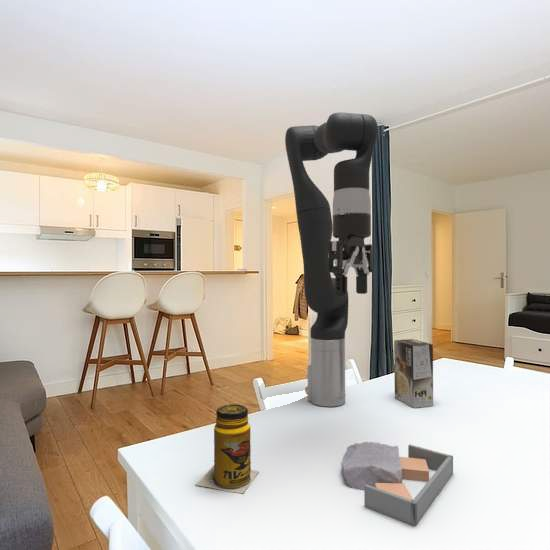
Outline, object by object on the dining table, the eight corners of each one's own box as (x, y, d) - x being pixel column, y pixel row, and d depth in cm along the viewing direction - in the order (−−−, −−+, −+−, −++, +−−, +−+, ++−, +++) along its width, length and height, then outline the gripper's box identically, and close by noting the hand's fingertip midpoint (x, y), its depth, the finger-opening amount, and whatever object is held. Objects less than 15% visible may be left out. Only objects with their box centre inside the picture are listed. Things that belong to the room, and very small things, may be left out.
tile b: (400, 480, 66) (400, 468, 66) (398, 467, 71) (398, 456, 71) (429, 483, 65) (428, 471, 65) (425, 470, 70) (425, 459, 70)
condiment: (243, 494, 62) (243, 417, 62) (194, 486, 64) (194, 412, 64) (259, 472, 69) (258, 403, 69) (214, 465, 71) (214, 398, 71)
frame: (364, 506, 58) (364, 485, 58) (409, 460, 73) (409, 444, 73) (415, 526, 54) (415, 504, 54) (453, 473, 68) (452, 455, 68)
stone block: (344, 501, 63) (408, 495, 61) (338, 470, 64) (401, 463, 62) (347, 468, 75) (401, 462, 73) (342, 442, 75) (395, 436, 73)
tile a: (374, 495, 62) (374, 482, 62) (403, 496, 62) (403, 483, 62) (381, 512, 57) (381, 499, 57) (412, 513, 57) (412, 499, 57)
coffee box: (434, 406, 103) (434, 344, 103) (413, 408, 101) (413, 345, 101) (413, 395, 112) (412, 338, 111) (393, 397, 110) (392, 339, 110)
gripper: (351, 219, 88) (352, 292, 88) (316, 211, 77) (316, 295, 77) (384, 216, 83) (384, 293, 83) (351, 207, 72) (351, 296, 72)
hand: (351, 294), depth 80 cm, fingers open, 8 cm apart
